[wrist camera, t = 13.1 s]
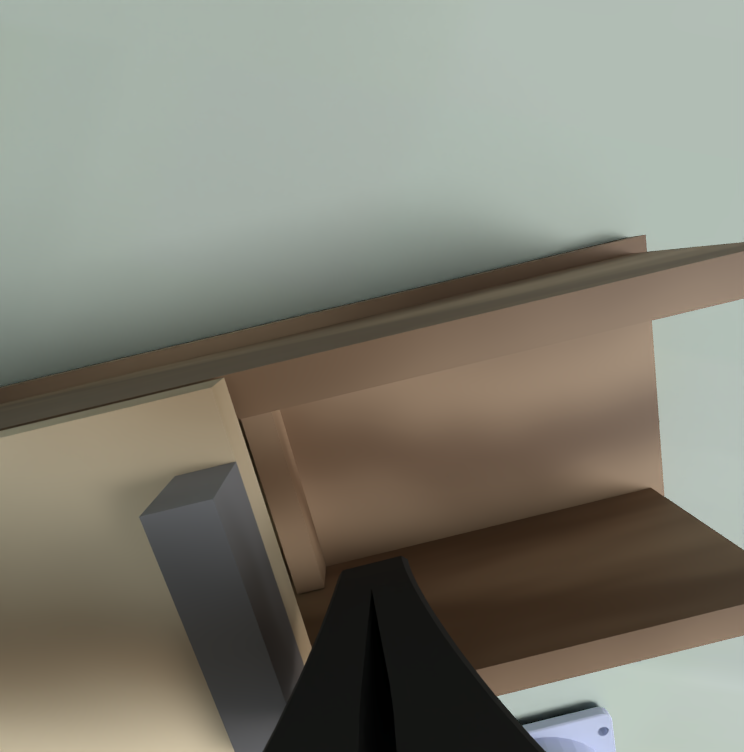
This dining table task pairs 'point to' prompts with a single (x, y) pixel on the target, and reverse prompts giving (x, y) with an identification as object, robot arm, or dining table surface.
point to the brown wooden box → (475, 453)
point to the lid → (141, 583)
